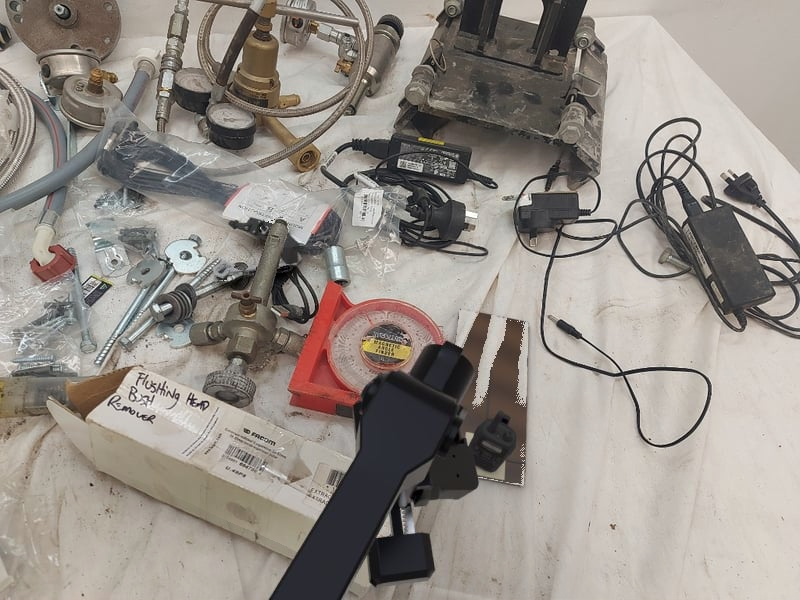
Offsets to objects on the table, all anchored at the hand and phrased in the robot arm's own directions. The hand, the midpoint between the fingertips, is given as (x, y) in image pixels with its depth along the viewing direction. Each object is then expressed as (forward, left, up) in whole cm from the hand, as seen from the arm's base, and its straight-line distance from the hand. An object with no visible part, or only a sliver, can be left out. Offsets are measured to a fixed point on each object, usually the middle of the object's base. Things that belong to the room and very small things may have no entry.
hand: (383, 507), depth 66 cm
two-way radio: (+8, -17, -11) cm, 22 cm away
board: (+19, -20, -12) cm, 30 cm away
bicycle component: (+48, +15, -12) cm, 52 cm away
